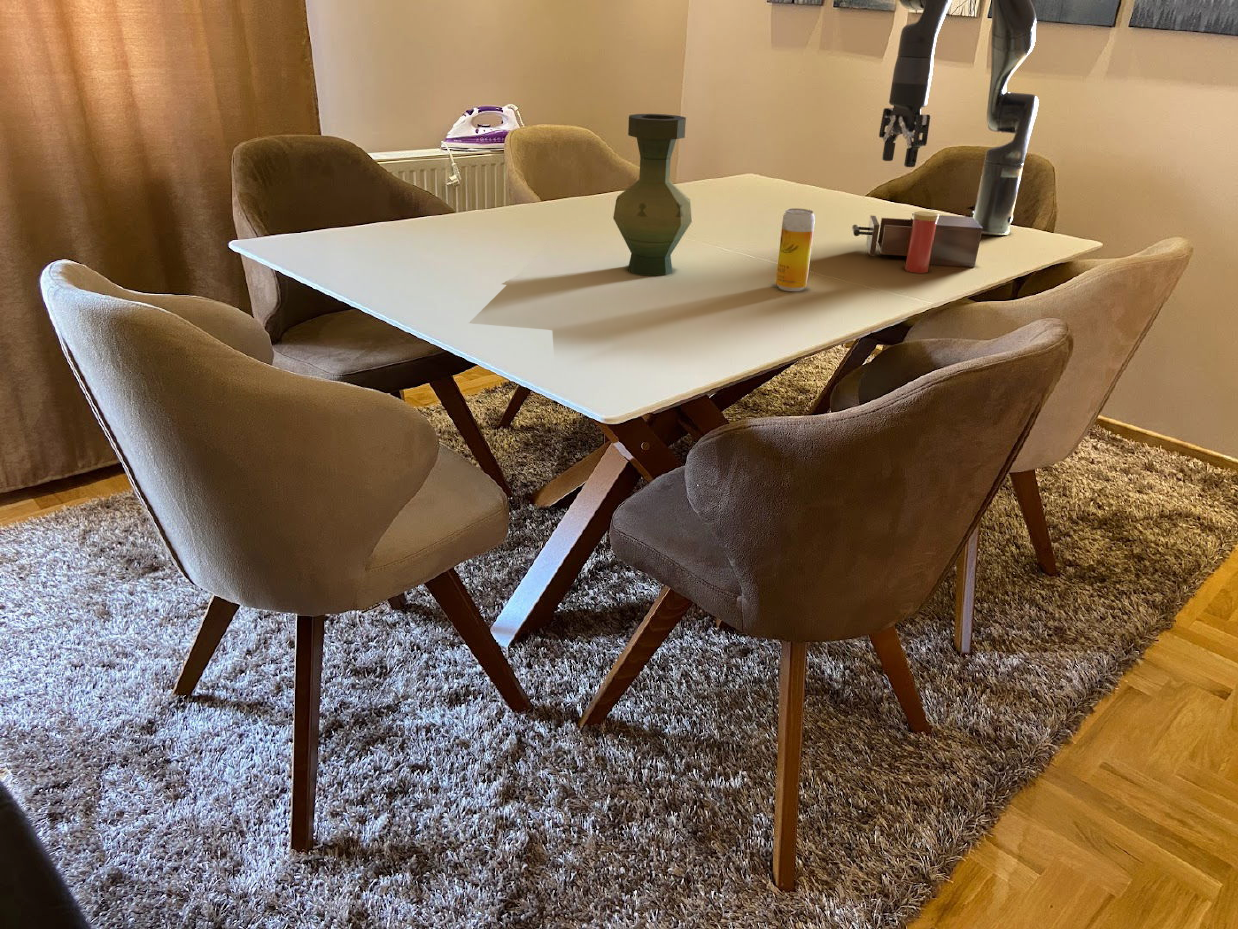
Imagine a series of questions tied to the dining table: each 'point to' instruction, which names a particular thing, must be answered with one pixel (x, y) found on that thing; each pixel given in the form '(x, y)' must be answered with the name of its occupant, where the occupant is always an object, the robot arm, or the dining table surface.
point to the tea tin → (921, 241)
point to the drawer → (887, 235)
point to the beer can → (795, 249)
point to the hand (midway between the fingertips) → (898, 163)
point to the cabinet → (955, 241)
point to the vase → (653, 197)
